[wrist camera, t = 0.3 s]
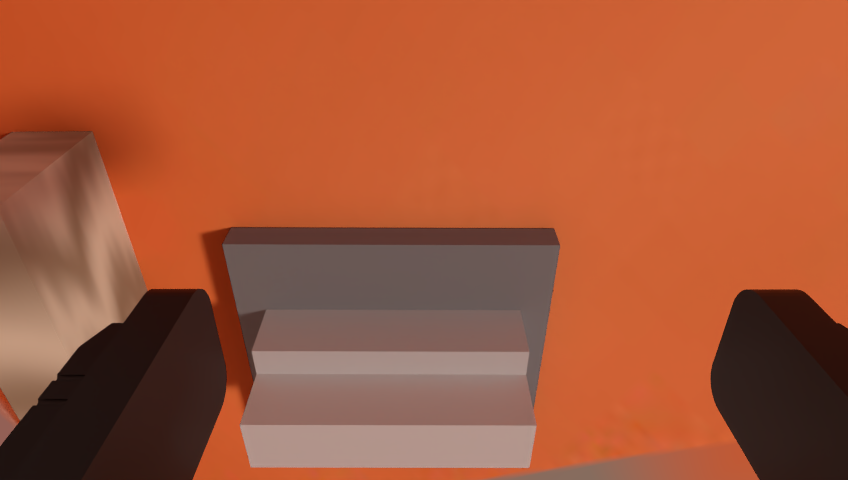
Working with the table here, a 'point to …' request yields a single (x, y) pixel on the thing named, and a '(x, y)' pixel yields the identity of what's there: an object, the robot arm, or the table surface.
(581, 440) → the table surface
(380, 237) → the ridge stand
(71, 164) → the ash bar
